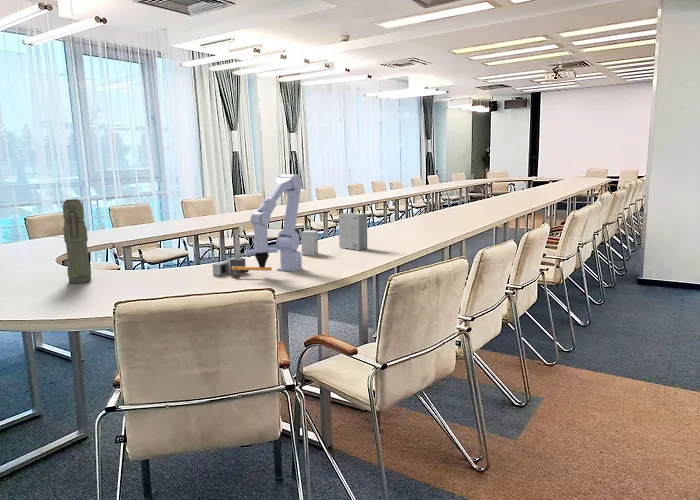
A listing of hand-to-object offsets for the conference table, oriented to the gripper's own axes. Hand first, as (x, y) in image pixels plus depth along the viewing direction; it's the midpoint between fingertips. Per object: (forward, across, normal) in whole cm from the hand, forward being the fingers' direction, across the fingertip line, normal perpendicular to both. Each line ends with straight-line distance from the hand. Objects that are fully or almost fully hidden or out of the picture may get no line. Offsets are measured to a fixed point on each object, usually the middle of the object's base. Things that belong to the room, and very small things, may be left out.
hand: (262, 269), depth 231 cm
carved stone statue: (+3, +72, -29) cm, 77 cm away
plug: (+3, +7, -12) cm, 14 cm away
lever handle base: (+3, +11, -5) cm, 12 cm away
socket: (+3, +11, -17) cm, 21 cm away
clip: (0, +5, -1) cm, 5 cm away
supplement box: (+3, -39, -40) cm, 56 cm away
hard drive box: (+3, -68, -45) cm, 81 cm away
